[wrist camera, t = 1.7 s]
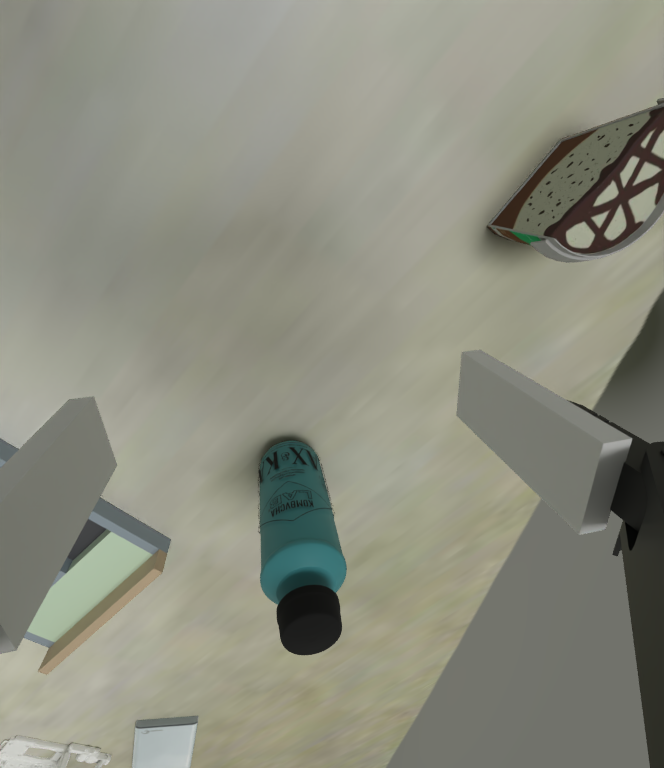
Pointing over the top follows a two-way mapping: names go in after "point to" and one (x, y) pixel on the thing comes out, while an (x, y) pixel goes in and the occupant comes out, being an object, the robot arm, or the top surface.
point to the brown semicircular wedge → (592, 191)
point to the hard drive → (164, 742)
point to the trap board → (94, 577)
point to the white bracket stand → (14, 764)
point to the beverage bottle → (300, 548)
